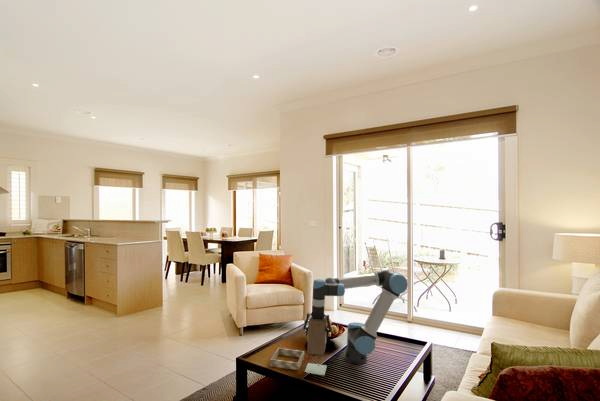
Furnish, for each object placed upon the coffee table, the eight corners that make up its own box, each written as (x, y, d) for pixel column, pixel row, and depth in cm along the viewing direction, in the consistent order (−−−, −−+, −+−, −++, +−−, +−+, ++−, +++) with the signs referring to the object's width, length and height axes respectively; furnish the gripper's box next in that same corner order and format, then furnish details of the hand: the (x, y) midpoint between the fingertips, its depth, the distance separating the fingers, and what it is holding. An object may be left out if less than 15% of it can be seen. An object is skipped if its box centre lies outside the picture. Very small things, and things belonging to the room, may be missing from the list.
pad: (326, 366, 206) (326, 365, 206) (324, 375, 194) (324, 374, 194) (308, 363, 209) (308, 362, 209) (304, 372, 197) (304, 372, 197)
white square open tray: (304, 357, 217) (304, 351, 217) (298, 370, 200) (298, 363, 200) (277, 353, 221) (278, 347, 221) (270, 366, 203) (270, 359, 204)
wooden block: (323, 356, 196) (324, 322, 196) (306, 353, 198) (308, 320, 198) (325, 349, 206) (326, 316, 206) (309, 347, 208) (311, 315, 208)
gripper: (337, 305, 204) (335, 341, 203) (301, 301, 209) (300, 337, 208) (336, 309, 197) (334, 346, 196) (299, 305, 201) (297, 342, 201)
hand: (316, 342), depth 202 cm, fingers closed on wooden block, 10 cm apart
